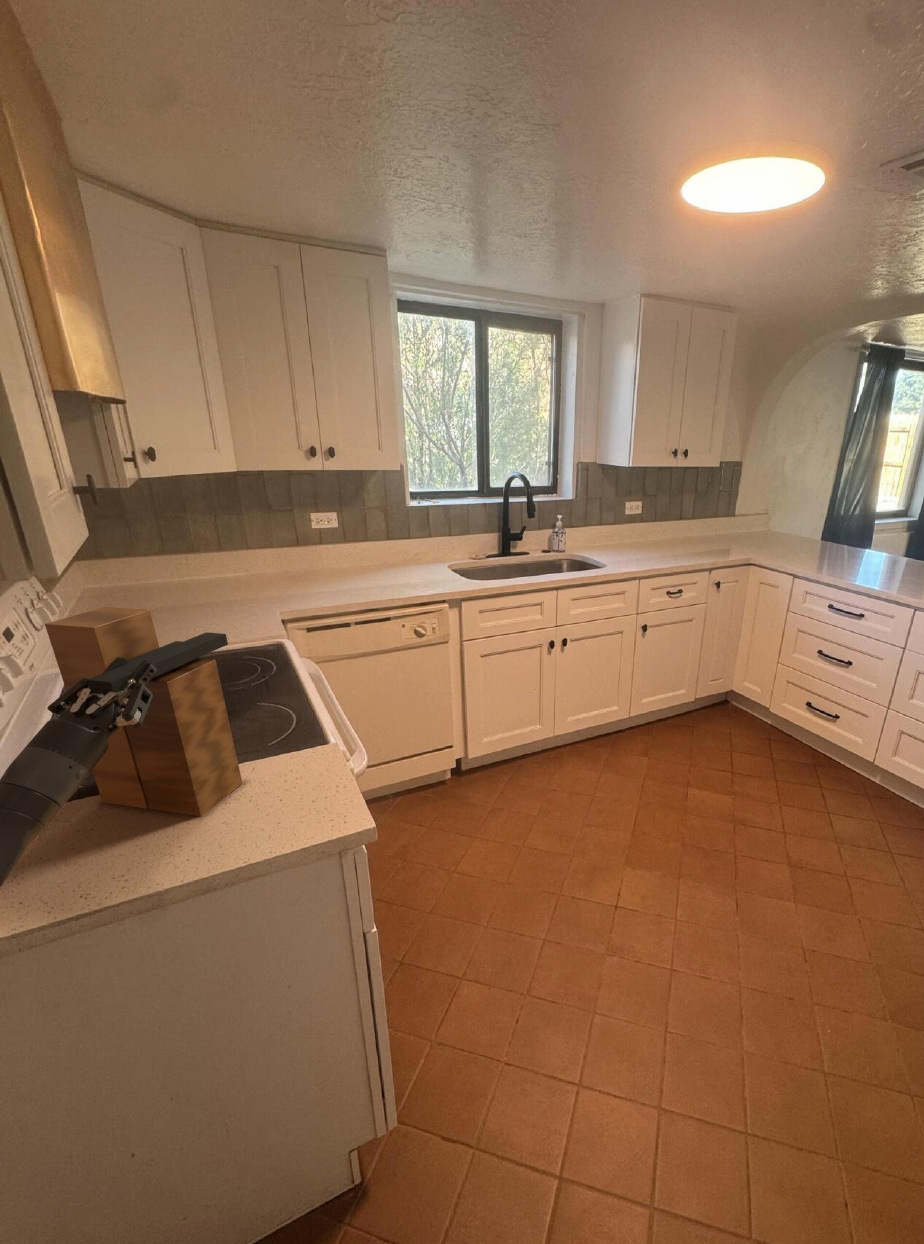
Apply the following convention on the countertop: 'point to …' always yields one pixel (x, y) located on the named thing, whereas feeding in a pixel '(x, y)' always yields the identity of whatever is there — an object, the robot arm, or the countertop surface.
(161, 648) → the short pad
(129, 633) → the step stand
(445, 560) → the countertop surface
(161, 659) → the long pad
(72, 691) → the robot arm
